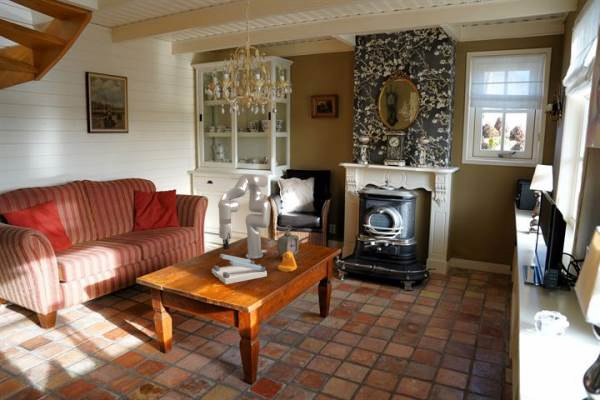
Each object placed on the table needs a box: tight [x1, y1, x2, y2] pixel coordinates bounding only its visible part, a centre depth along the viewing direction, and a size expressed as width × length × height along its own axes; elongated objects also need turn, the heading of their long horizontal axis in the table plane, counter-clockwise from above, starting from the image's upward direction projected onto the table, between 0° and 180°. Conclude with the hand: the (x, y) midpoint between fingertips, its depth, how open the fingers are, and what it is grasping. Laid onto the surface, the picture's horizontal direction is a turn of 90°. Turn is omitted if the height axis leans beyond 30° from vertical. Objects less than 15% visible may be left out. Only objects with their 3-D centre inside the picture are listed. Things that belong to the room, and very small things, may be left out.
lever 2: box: [229, 260, 263, 271], centre depth 287 cm, size 22×5×2 cm, turn 121°
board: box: [211, 257, 268, 285], centre depth 293 cm, size 28×24×6 cm
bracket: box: [277, 251, 298, 273], centre depth 302 cm, size 11×7×12 cm, turn 62°
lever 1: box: [219, 253, 252, 264], centre depth 300 cm, size 22×5×2 cm, turn 121°
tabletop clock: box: [276, 224, 300, 259], centre depth 324 cm, size 14×9×25 cm, turn 143°
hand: (226, 249), depth 295 cm, fingers closed
